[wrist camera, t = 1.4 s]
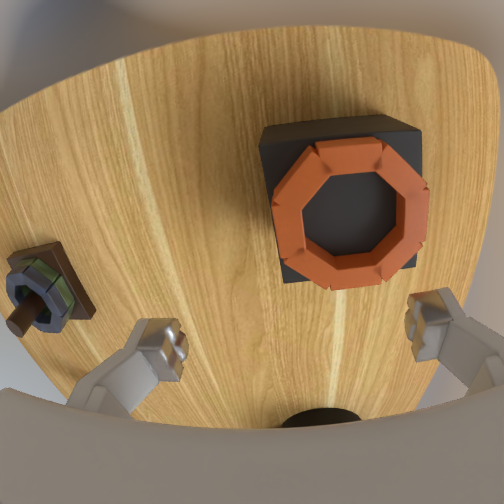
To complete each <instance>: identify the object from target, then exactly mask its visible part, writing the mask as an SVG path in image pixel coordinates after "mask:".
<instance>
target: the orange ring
mask: <svg viewBox="0 0 504 504" xmlns="http://www.w3.org/2000/svg"><path fill="white" fill-rule="evenodd" d="M315 148H316V149H314V148H313V147H312V146H310V145H309V146H308V147H307V148H306V150H305V151H304V152H303V153H302V155H301V156H300V157H299V158H298V160H297V161H296V162H295V163H294V165H293V166H292V167H291V169H290V170H289V171H288V172H287V174H286V175H285V176H284V177H283V179H282V180H281V181H280V183H279V184H278V185H277V186H276V188H275V189H274V194H273V196H272V205H271V208H272V214H273V219H274V225H275V231H276V236H277V242H278V248H279V254H280V258H284V264H286V265H287V266H289V267H290V268H292V269H294V270H295V271H297V272H298V273H300V274H302V275H303V276H305V277H306V278H308V279H309V280H311V281H313V282H314V283H316V284H317V285H319V286H321V287H322V288H324V289H325V290H326V289H327V288H328V287H329V286H330V289H331V290H340V289H348V288H356V287H364V286H371V285H379V284H381V283H382V279H383V280H384V281H386V282H387V281H388V280H389V279H390V278H391V277H392V276H393V275H394V274H395V273H396V272H397V271H398V270H399V269H400V268H402V267H403V266H404V265H405V264H406V263H407V262H408V261H409V260H410V259H411V258H412V257H413V256H414V255H415V254H416V253H417V252H418V251H419V250H420V249H421V248H422V247H423V245H422V243H421V242H424V241H426V233H427V222H428V208H429V189H428V188H427V187H426V186H427V183H426V182H425V181H424V179H423V178H422V177H421V176H420V175H419V174H418V173H417V172H416V171H415V170H414V169H413V168H412V167H411V166H410V165H409V164H408V163H407V162H406V161H405V160H404V159H403V158H402V157H401V156H400V155H399V154H398V153H397V152H396V151H395V150H394V149H393V148H392V147H390V146H389V145H388V144H387V143H385V142H384V141H382V140H381V139H378V140H377V139H376V138H375V137H361V138H348V139H337V140H328V141H318V142H315ZM363 172H376V173H377V174H378V175H380V176H381V177H382V178H383V179H384V180H385V181H386V182H387V183H388V184H389V185H391V186H392V187H393V188H394V189H395V190H396V226H395V227H394V228H393V229H392V230H391V231H390V232H389V233H388V234H387V235H386V236H385V237H384V238H383V239H382V241H381V242H380V243H379V244H378V245H377V246H376V247H375V248H374V249H373V250H372V251H371V252H367V253H359V254H351V255H342V256H333V255H331V254H330V253H328V252H327V251H325V250H324V249H323V248H321V247H320V246H318V245H317V244H315V243H314V242H312V241H311V240H310V239H308V238H307V237H305V233H304V225H303V217H302V209H303V208H304V207H305V205H306V204H307V203H308V202H309V201H310V200H311V198H312V197H313V196H314V195H315V194H316V192H317V191H318V190H319V189H320V188H321V186H322V185H323V184H324V183H325V182H326V181H327V179H328V178H329V177H330V176H334V175H343V174H353V173H363Z"/></svg>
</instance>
